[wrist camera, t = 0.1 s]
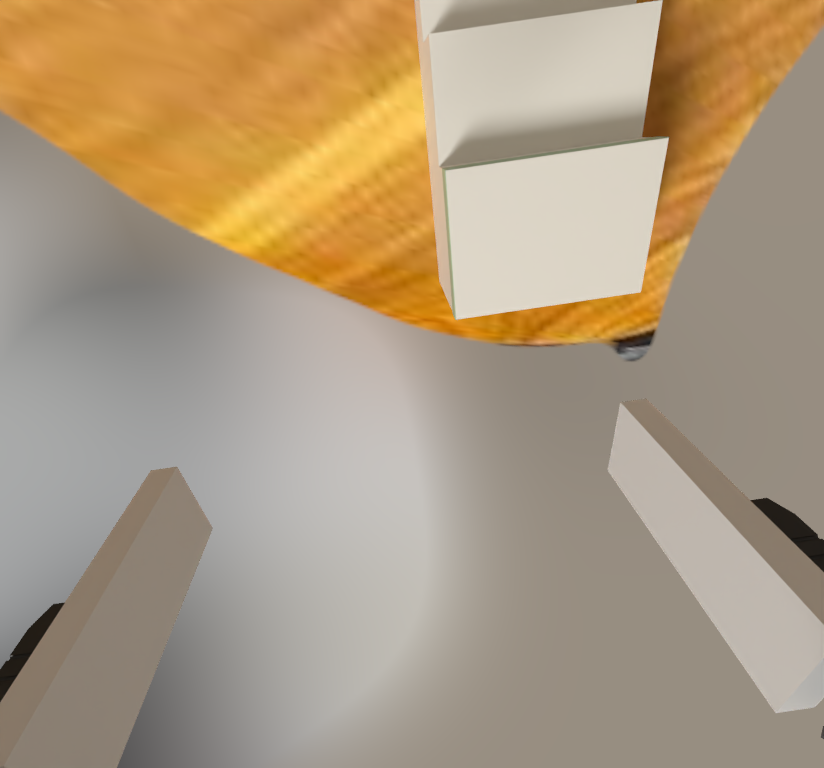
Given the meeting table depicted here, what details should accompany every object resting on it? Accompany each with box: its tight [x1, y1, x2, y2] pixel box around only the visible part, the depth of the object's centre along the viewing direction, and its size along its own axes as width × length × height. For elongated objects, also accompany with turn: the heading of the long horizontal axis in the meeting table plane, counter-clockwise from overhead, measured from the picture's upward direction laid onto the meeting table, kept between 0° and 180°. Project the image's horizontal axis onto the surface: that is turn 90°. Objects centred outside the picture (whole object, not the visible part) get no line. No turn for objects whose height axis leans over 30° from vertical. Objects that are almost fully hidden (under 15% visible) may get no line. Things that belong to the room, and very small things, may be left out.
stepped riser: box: [414, 0, 669, 320], centre depth 28 cm, size 24×14×9 cm, turn 7°
